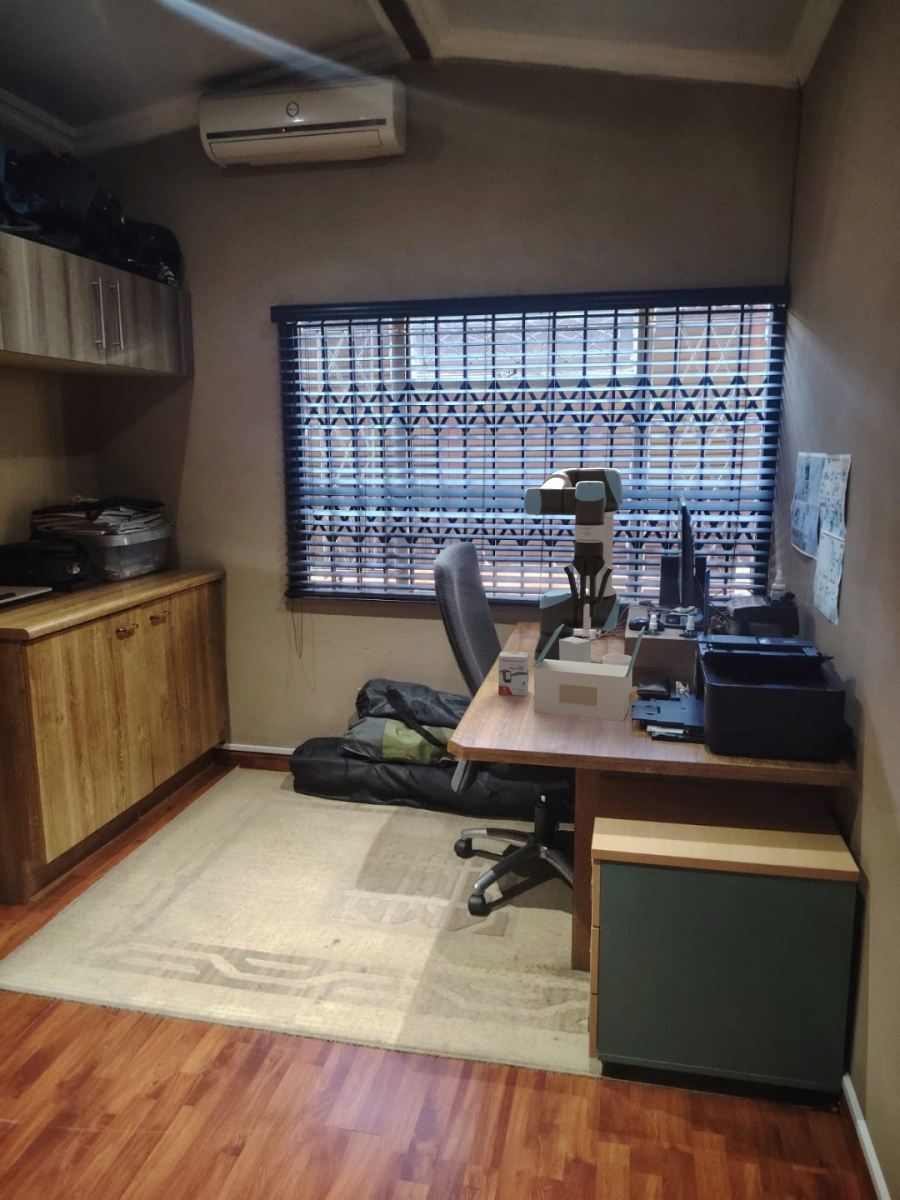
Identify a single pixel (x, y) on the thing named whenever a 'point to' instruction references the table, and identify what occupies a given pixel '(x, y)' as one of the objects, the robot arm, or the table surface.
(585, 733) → the table surface
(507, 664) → the ink box
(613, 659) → the mug
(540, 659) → the flap
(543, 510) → the robot arm
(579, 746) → the table surface
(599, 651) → the table surface
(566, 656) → the skincare box
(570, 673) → the carton
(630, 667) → the flap
